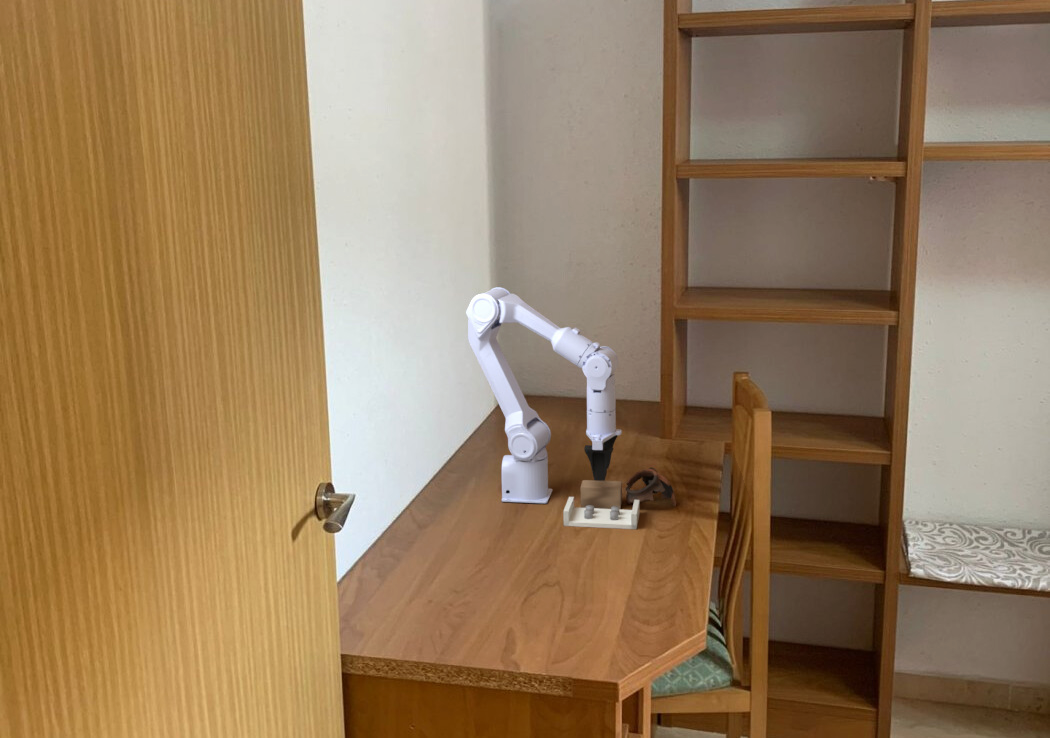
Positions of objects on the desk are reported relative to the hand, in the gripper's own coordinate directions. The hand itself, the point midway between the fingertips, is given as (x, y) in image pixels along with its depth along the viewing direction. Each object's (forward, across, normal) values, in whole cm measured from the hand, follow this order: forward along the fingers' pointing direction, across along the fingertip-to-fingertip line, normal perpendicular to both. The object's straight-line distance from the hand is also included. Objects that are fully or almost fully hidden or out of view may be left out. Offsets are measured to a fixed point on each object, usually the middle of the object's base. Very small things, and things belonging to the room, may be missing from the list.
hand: (601, 473), depth 209 cm
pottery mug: (+7, +2, -10) cm, 12 cm away
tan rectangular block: (+7, 0, 0) cm, 7 cm away
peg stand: (+6, -8, -1) cm, 11 cm away
